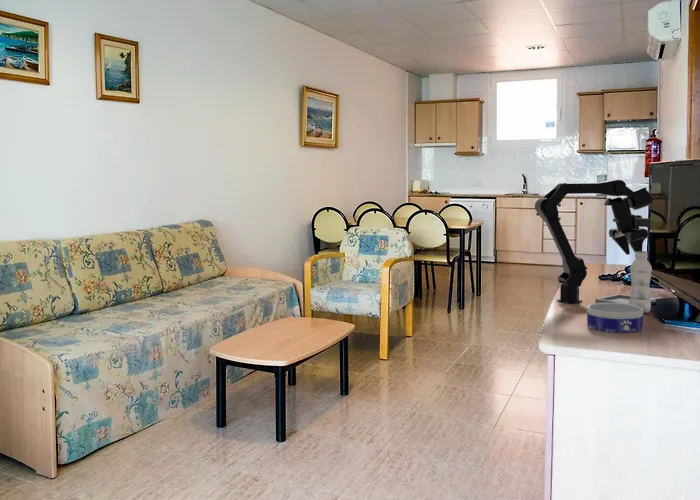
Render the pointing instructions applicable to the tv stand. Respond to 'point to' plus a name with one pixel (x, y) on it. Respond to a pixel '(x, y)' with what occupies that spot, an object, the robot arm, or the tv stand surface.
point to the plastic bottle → (640, 281)
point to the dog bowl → (615, 317)
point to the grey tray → (617, 299)
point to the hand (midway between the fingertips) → (634, 255)
